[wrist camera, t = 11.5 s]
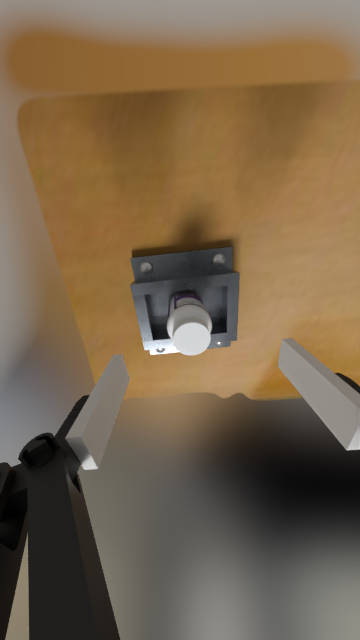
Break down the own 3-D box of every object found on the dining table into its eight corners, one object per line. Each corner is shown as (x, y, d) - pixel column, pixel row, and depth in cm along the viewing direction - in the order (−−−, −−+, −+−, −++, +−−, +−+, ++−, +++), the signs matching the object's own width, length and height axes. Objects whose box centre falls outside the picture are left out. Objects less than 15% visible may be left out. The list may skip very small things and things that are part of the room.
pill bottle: (189, 329, 28) (195, 368, 19) (161, 311, 27) (155, 345, 18) (210, 303, 26) (228, 334, 17) (182, 283, 25) (186, 305, 16)
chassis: (132, 257, 24) (124, 259, 20) (230, 246, 24) (240, 247, 20) (151, 351, 31) (148, 365, 27) (228, 343, 30) (236, 356, 27)
